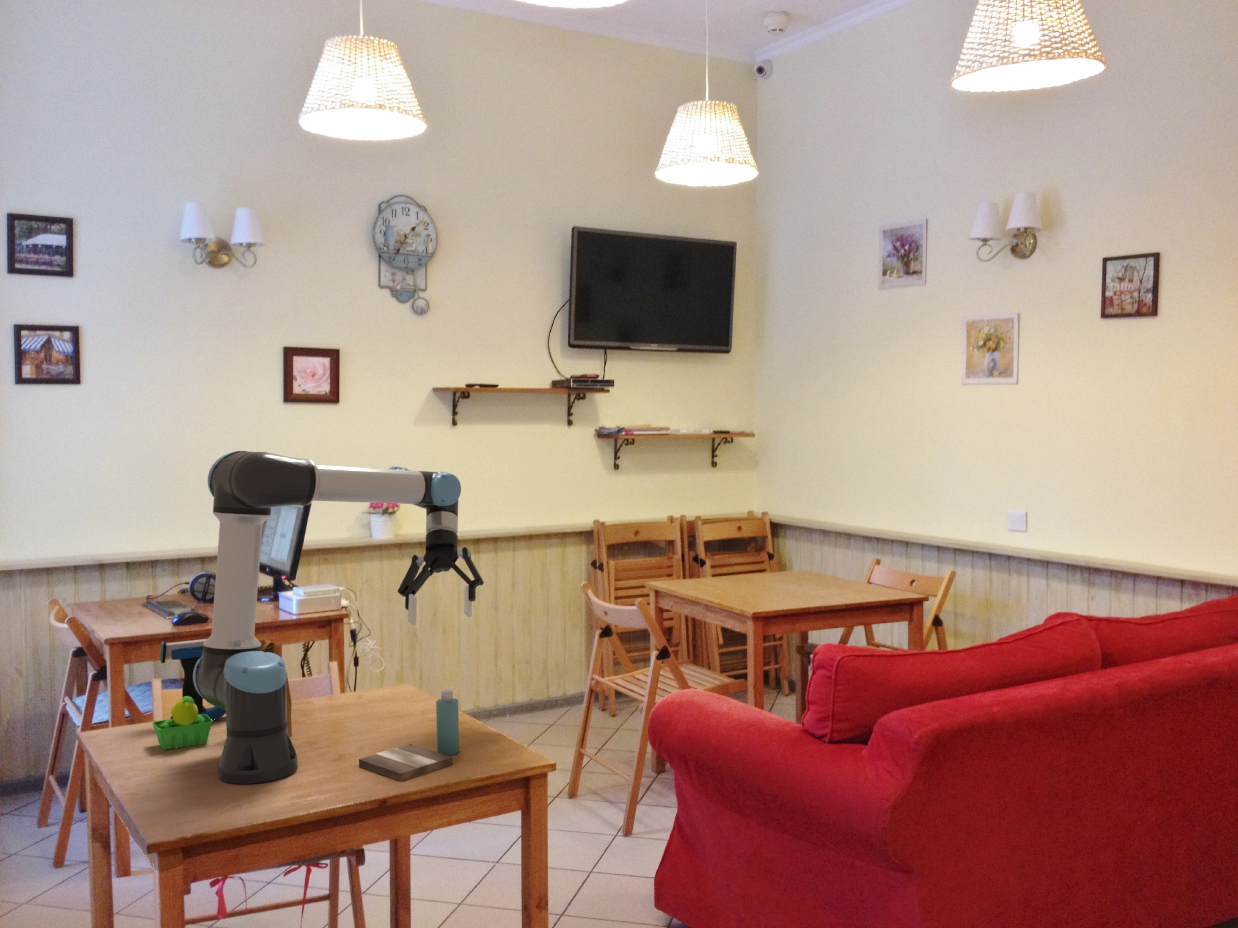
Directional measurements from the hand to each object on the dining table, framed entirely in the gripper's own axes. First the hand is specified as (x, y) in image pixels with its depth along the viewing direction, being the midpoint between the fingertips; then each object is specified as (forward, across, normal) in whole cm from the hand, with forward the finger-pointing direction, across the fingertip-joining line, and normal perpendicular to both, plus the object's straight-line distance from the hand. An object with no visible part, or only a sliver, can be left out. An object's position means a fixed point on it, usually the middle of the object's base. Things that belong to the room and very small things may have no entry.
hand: (439, 618), depth 241 cm
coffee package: (+22, +42, 0) cm, 47 cm away
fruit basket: (+24, +56, +8) cm, 62 cm away
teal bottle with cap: (+31, -3, +2) cm, 31 cm away
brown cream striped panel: (+35, +2, +10) cm, 36 cm away
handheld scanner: (+15, +63, -6) cm, 65 cm away
